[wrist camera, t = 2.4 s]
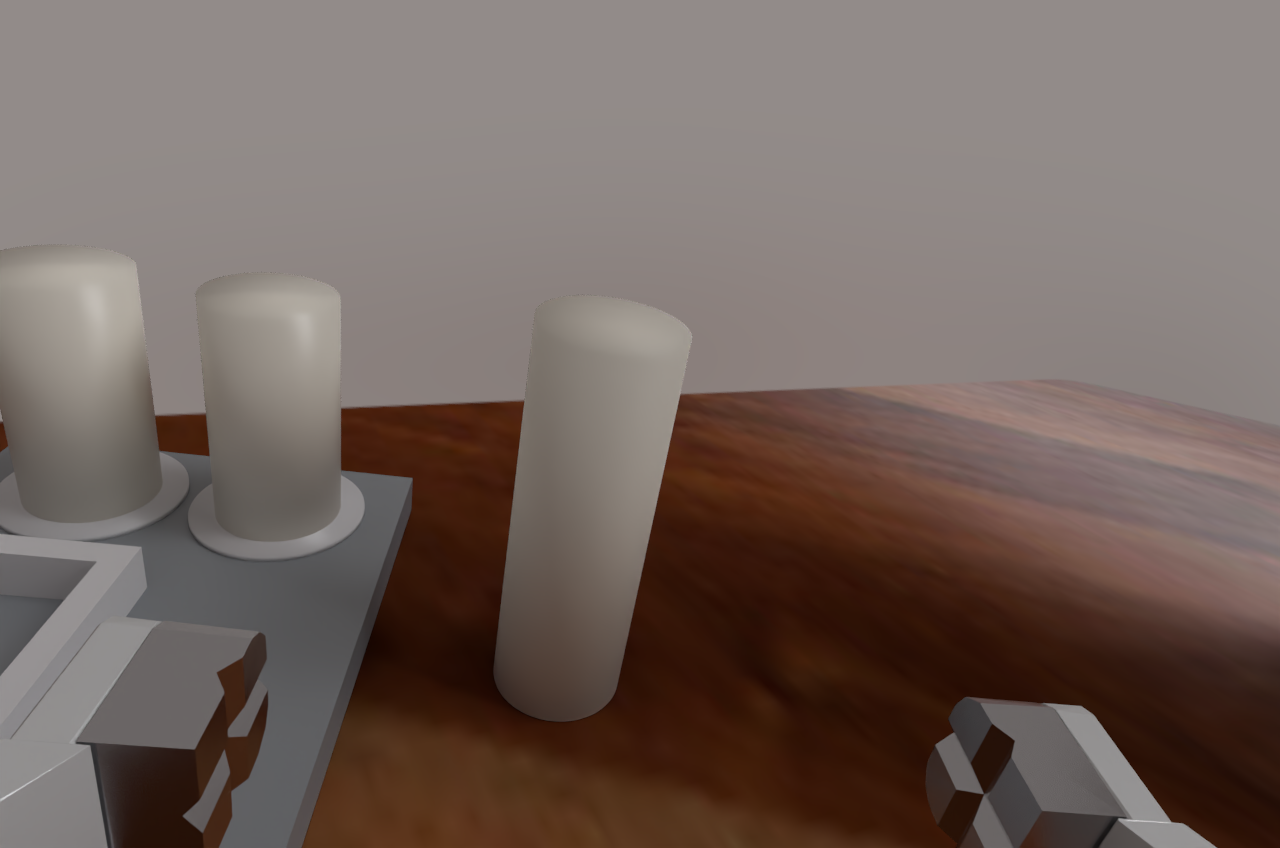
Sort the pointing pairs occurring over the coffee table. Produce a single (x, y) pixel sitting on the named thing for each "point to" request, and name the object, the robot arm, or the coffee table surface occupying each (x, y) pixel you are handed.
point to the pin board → (189, 501)
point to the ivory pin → (584, 498)
